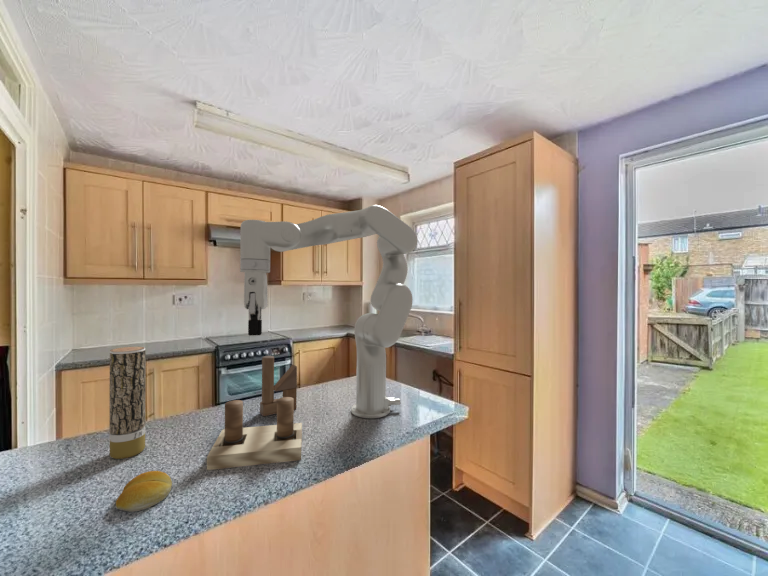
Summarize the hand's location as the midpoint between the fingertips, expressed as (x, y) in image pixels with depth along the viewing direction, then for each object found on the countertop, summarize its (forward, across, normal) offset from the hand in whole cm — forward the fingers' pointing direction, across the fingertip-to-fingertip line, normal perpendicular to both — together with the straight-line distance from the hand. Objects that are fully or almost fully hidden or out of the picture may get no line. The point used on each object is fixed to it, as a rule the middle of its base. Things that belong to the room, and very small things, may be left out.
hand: (255, 334), depth 90 cm
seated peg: (+27, -9, -8) cm, 30 cm away
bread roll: (+28, -23, +16) cm, 40 cm away
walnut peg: (+27, -9, +4) cm, 29 cm away
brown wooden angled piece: (+27, +16, -5) cm, 32 cm away
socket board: (+27, -9, -2) cm, 29 cm away
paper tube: (+27, -4, +28) cm, 39 cm away
